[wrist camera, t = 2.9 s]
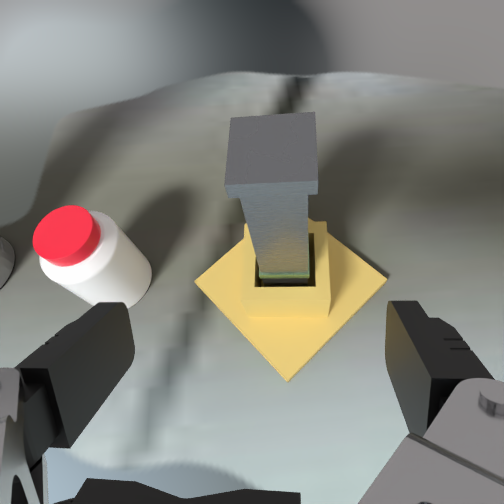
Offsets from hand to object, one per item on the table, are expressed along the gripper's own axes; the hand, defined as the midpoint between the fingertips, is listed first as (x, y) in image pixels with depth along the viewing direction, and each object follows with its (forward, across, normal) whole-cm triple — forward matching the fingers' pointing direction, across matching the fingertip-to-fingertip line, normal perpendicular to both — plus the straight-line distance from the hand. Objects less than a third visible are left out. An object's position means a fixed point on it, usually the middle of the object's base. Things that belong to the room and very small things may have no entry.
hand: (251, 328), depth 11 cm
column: (+25, 0, +8) cm, 27 cm away
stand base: (+26, 0, +10) cm, 28 cm away
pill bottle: (+27, +19, +9) cm, 34 cm away
